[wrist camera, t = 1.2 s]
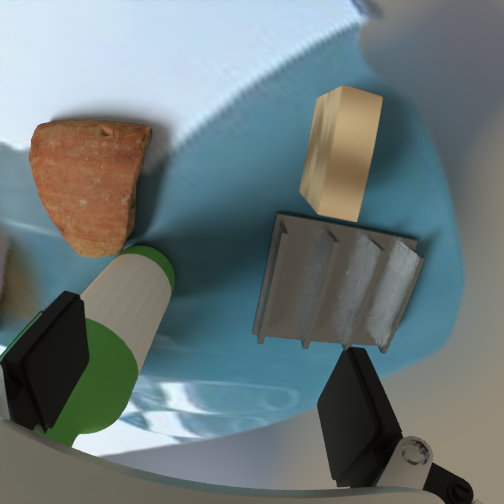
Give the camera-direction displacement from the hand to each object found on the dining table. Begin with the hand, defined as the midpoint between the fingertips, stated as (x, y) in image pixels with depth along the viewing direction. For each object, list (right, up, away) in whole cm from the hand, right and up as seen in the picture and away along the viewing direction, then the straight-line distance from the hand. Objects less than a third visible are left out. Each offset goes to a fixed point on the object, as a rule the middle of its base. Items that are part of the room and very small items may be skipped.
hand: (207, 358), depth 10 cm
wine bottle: (-11, +1, +25) cm, 27 cm away
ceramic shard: (-17, +11, +21) cm, 30 cm away
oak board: (+9, +14, +20) cm, 26 cm away
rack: (+11, 0, +25) cm, 28 cm away
